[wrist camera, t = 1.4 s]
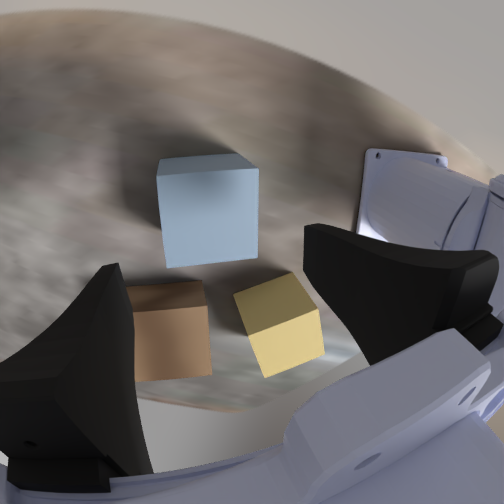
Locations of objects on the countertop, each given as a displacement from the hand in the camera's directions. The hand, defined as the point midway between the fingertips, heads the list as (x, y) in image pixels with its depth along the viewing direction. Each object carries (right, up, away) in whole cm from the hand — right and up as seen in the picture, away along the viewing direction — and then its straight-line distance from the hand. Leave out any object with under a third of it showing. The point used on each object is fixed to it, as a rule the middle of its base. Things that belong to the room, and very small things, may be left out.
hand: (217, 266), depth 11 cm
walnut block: (-6, -5, +12) cm, 15 cm away
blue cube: (-2, +4, +8) cm, 10 cm away
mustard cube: (+3, -4, +14) cm, 15 cm away
